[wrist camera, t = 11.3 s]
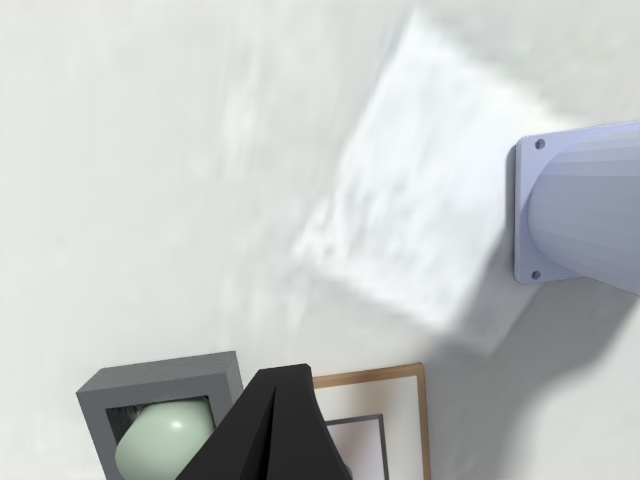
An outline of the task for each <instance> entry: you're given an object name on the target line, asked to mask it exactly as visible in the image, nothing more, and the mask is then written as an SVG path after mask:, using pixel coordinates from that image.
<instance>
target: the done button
mask: <svg viewBox="0 0 640 480" xmlns="http://www.w3.org/2000/svg"><path fill="white" fill-rule="evenodd" d="M215 429H216V425H215V421H214V417H213V413H212V409H211V405H210V401H209V400H208V399H207V398H206V397H204V396H197V397H189V398H182V399H175V400H167V401H160V402H152V403H147V404H146V405H145V407H144V408H143V410H142V411H141V412H140V414H139V415H138V417H137V418H136V419H135V421H134V422H133V424H132V425H131V426H130V428H129V429H128V431H127V432H126V433H125V435H124V436H123V438H122V439H121V441H120V442H119V444H118V446H117V449H116V455H115V459H116V465H117V468H118V470H119V472H120V474H121V475H122V477H123V478H124V479H125V480H175V479H176V477H177V476H178V475H179V474H180V473H181V471H182V470H183V469H184V468H185V466H186V465H187V464H188V463H189V462H190V460H191V459H192V458H193V457H194V456H195V454H196V453H197V452H198V451H199V449H200V448H201V447H202V446H203V445H204V443H205V442H206V441H207V439H208V438H209V437H210V436H211V434H212V433H213V432H214V430H215Z"/></svg>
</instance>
